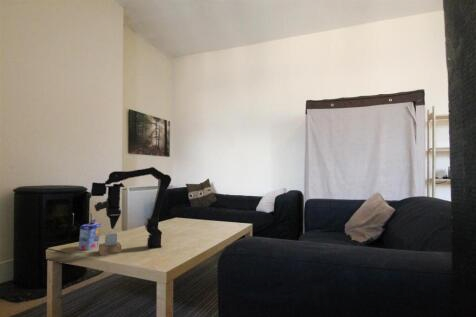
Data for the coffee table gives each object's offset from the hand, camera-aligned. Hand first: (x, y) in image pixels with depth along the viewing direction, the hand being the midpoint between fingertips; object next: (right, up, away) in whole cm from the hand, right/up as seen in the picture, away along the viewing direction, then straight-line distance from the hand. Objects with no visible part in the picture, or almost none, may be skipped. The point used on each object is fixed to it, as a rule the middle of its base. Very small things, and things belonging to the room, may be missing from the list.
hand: (112, 227), depth 129 cm
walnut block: (0, -12, -2) cm, 12 cm away
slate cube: (0, -8, -1) cm, 8 cm away
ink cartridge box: (-15, -13, +6) cm, 20 cm away
